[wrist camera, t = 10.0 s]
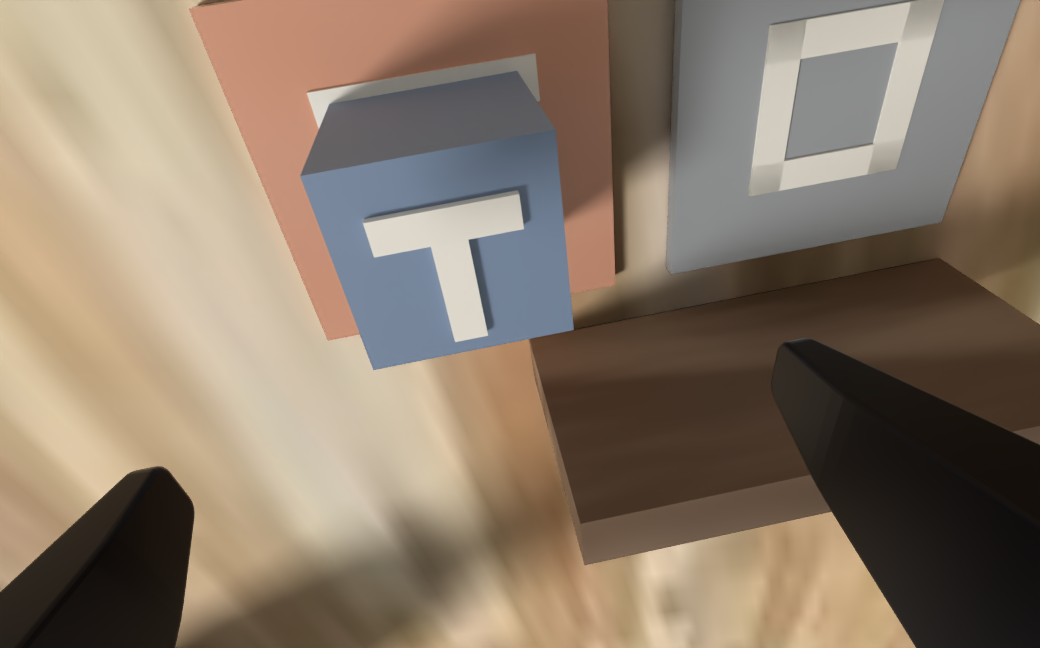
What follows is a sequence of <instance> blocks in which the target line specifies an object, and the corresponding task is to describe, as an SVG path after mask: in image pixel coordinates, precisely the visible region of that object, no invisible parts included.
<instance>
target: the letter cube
mask: <svg viewBox="0 0 1040 648" xmlns="http://www.w3.org/2000/svg"><path fill="white" fill-rule="evenodd" d="M300 177H301V180H302V183H303V185H304V188H305V191H306V193H307V196H308V198H309V201H310V204H311V206H312V209H313V212H314V214H315V217H316V220H317V222H318V225H319V227H320V230H321V233H322V235H323V238H324V241H325V243H326V246H327V249H328V251H329V254H330V256H331V259H332V262H333V264H334V267H335V270H336V272H337V275H338V278H339V280H340V283H341V285H342V288H343V291H344V293H345V296H346V299H347V301H348V304H349V307H350V309H351V312H352V314H353V317H354V320H355V322H356V325H357V328H358V330H359V333H360V336H361V338H362V341H363V343H364V346H365V349H366V351H367V354H368V357H369V359H370V362H371V365H372V367H373V370H376V369H381V368H386V367H391V366H396V365H401V364H406V363H411V362H416V361H421V360H426V359H431V358H436V357H441V356H446V355H451V354H456V353H461V352H466V351H471V350H476V349H481V348H486V347H491V346H496V345H501V344H506V343H511V342H516V341H521V340H526V339H531V338H536V337H541V336H546V335H551V334H556V333H561V332H566V331H571V330H574V327H573V316H572V305H571V294H570V283H569V272H568V261H567V250H566V239H565V228H564V217H563V206H562V195H561V184H560V173H559V162H558V151H557V140H556V129H555V128H554V126H553V125H552V123H551V122H550V120H549V119H548V117H547V116H546V114H545V112H544V111H543V109H542V108H541V106H540V105H539V103H538V102H537V100H536V99H535V97H534V96H533V94H532V93H531V91H530V90H529V88H528V87H527V85H526V84H525V82H524V81H523V79H522V77H521V76H520V74H519V73H518V71H513V72H507V73H501V74H496V75H490V76H485V77H479V78H473V79H468V80H462V81H456V82H451V83H445V84H439V85H434V86H428V87H422V88H417V89H411V90H405V91H400V92H394V93H389V94H383V95H377V96H372V97H366V98H360V99H355V100H349V101H343V102H338V103H332V104H329V106H328V108H327V111H326V113H325V116H324V118H323V121H322V123H321V125H320V128H319V130H318V133H317V135H316V138H315V140H314V143H313V145H312V148H311V150H310V153H309V155H308V158H307V160H306V162H305V165H304V167H303V170H302V172H301V175H300Z"/></svg>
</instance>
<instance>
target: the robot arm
mask: <svg viewBox="0 0 1040 648" xmlns="http://www.w3.org/2000/svg"><path fill="white" fill-rule="evenodd" d="M771 389H772V394H773V397H774V399H775V402H776V404H777V406H778V408H779V410H780V412H781V414H782V416H783V418H784V420H785V423H786V425H787V427H788V429H789V431H790V433H791V435H792V437H793V439H794V441H795V443H796V446H797V448H798V450H799V452H800V454H801V456H802V458H803V460H804V462H805V464H806V467H807V469H808V471H809V473H810V475H811V477H812V479H813V480H814V482H815V484H816V486H817V488H818V490H819V491H820V493H821V495H822V496H823V498H824V500H825V502H826V503H827V505H828V506H829V508H830V510H831V511H832V513H833V514H834V516H835V518H836V519H837V521H838V523H839V524H840V526H841V527H842V529H843V531H844V532H845V534H846V535H847V537H848V539H849V540H850V542H851V543H852V545H853V547H854V548H855V550H856V552H857V553H858V555H859V556H860V558H861V560H862V561H863V563H864V564H865V566H866V568H867V569H868V571H869V573H870V574H871V576H872V577H873V579H874V581H875V582H876V584H877V585H878V587H879V589H880V590H881V592H882V593H883V595H884V597H885V598H886V600H887V602H888V603H889V605H890V606H891V608H892V610H893V611H894V613H895V614H896V616H897V618H898V619H899V621H900V623H901V624H902V626H903V627H904V629H905V631H906V632H907V634H908V635H909V637H910V639H911V640H912V642H913V643H914V645H915V647H916V648H1040V444H1038V443H1036V442H1034V441H1031V440H1029V439H1027V438H1025V437H1023V436H1021V435H1018V434H1016V433H1014V432H1012V431H1010V430H1008V429H1006V428H1003V427H1001V426H999V425H997V424H995V423H993V422H990V421H988V420H986V419H984V418H982V417H980V416H978V415H975V414H973V413H971V412H969V411H967V410H965V409H963V408H960V407H958V406H956V405H954V404H952V403H950V402H947V401H945V400H943V399H941V398H939V397H937V396H935V395H932V394H930V393H928V392H926V391H924V390H922V389H920V388H917V387H915V386H913V385H911V384H909V383H907V382H904V381H902V380H900V379H898V378H896V377H894V376H892V375H889V374H887V373H885V372H883V371H881V370H879V369H877V368H874V367H872V366H870V365H868V364H866V363H864V362H861V361H859V360H857V359H855V358H853V357H851V356H849V355H846V354H844V353H842V352H840V351H838V350H836V349H834V348H831V347H829V346H827V345H825V344H823V343H821V342H818V341H816V340H814V339H811V338H801V339H796V340H791V341H786V342H783V343H781V344H780V346H779V347H778V350H777V354H776V359H775V364H774V370H773V375H772V380H771ZM193 524H194V506H193V503H192V501H191V499H190V497H189V496H188V495H187V493H186V492H185V491H184V490H183V488H182V487H181V486H180V484H179V483H178V482H177V481H176V479H175V478H174V477H173V475H172V474H171V473H170V472H169V471H168V470H167V469H166V468H164V467H162V466H156V467H151V468H146V469H141V470H136V471H133V472H130V473H129V474H127V475H126V476H125V477H124V478H123V479H122V480H120V481H119V482H118V483H117V484H116V485H115V486H114V487H113V488H112V489H111V490H110V491H109V492H108V493H106V494H105V495H104V496H103V497H102V498H101V499H100V500H99V501H98V502H97V503H96V504H95V505H94V506H92V507H91V508H90V509H89V510H88V511H87V512H86V513H85V514H84V515H83V516H82V517H81V518H80V519H78V520H77V521H76V522H75V523H74V524H73V525H72V526H71V527H70V528H69V529H68V530H67V531H66V532H65V533H63V534H62V535H61V536H60V537H59V538H58V539H57V540H56V541H55V542H54V543H53V544H52V545H51V546H49V547H48V548H47V549H46V550H45V551H44V552H43V553H42V554H41V555H40V556H39V557H38V558H37V559H35V560H34V561H33V562H32V563H31V564H30V565H29V566H28V567H27V568H26V569H25V570H24V571H23V572H21V573H20V574H19V575H18V576H17V577H16V578H15V579H14V580H13V581H12V582H11V583H10V584H9V585H7V586H6V587H5V588H4V589H3V590H2V591H1V592H0V648H175V645H176V641H177V636H178V632H179V627H180V622H181V617H182V610H183V604H184V596H185V588H186V580H187V572H188V564H189V556H190V548H191V540H192V532H193Z"/></svg>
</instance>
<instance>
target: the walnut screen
mask: <svg viewBox="0 0 1040 648" xmlns="http://www.w3.org/2000/svg"><path fill="white" fill-rule="evenodd" d="M801 338H811V339H814V340H816V341H818V342H821V343H823V344H825V345H827V346H829V347H831V348H834V349H836V350H838V351H840V352H842V353H844V354H846V355H849V356H851V357H853V358H855V359H857V360H859V361H861V362H864V363H866V364H868V365H870V366H872V367H874V368H877V369H879V370H881V371H883V372H885V373H887V374H889V375H892V376H894V377H896V378H898V379H900V380H902V381H904V382H907V383H909V384H911V385H913V386H915V387H917V388H920V389H922V390H924V391H926V392H928V393H930V394H932V395H935V396H937V397H939V398H941V399H943V400H945V401H947V402H950V403H952V404H954V405H956V406H958V407H960V408H963V409H965V410H967V411H969V412H971V413H973V414H975V415H978V416H980V417H982V418H984V419H986V420H988V421H990V422H993V423H995V424H997V425H999V426H1001V427H1003V428H1006V429H1008V430H1010V431H1012V432H1014V433H1016V434H1018V435H1021V436H1023V437H1025V438H1027V439H1029V440H1031V441H1034V442H1036V443H1038V444H1040V325H1039V324H1038V323H1036V322H1035V321H1033V320H1032V319H1030V318H1029V317H1027V316H1026V315H1024V314H1023V313H1021V312H1020V311H1018V310H1017V309H1015V308H1014V307H1012V306H1011V305H1009V304H1008V303H1006V302H1005V301H1003V300H1002V299H1000V298H999V297H997V296H996V295H994V294H993V293H991V292H990V291H988V290H987V289H985V288H984V287H982V286H981V285H979V284H978V283H976V282H975V281H973V280H972V279H970V278H969V277H967V276H966V275H964V274H962V273H961V272H959V271H958V270H956V269H955V268H953V267H952V266H950V265H949V264H947V263H946V262H944V261H943V260H941V259H940V258H939V259H934V260H929V261H924V262H919V263H914V264H909V265H904V266H898V267H893V268H888V269H883V270H878V271H873V272H868V273H863V274H858V275H853V276H847V277H842V278H837V279H832V280H827V281H822V282H817V283H812V284H807V285H801V286H796V287H791V288H786V289H781V290H776V291H771V292H766V293H761V294H755V295H750V296H745V297H740V298H735V299H730V300H725V301H720V302H715V303H710V304H704V305H699V306H694V307H689V308H684V309H679V310H674V311H669V312H664V313H658V314H653V315H648V316H643V317H638V318H633V319H628V320H623V321H618V322H613V323H607V324H602V325H597V326H592V327H587V328H582V329H577V330H572V331H567V332H561V333H556V334H551V335H546V336H541V337H536V338H531V339H529V342H530V349H531V355H532V362H533V369H534V376H535V381H536V385H537V388H538V392H539V396H540V400H541V403H542V407H543V411H544V415H545V418H546V422H547V426H548V430H549V433H550V437H551V441H552V445H553V448H554V452H555V456H556V460H557V463H558V467H559V471H560V475H561V478H562V482H563V486H564V490H565V493H566V497H567V501H568V505H569V509H570V512H571V516H572V520H573V524H574V527H575V531H576V535H577V539H578V542H579V546H580V550H581V554H582V557H583V561H584V565H588V564H593V563H597V562H602V561H606V560H611V559H616V558H620V557H625V556H629V555H634V554H639V553H643V552H648V551H652V550H657V549H662V548H666V547H671V546H675V545H680V544H685V543H689V542H694V541H698V540H703V539H708V538H712V537H717V536H721V535H726V534H731V533H735V532H740V531H744V530H749V529H754V528H758V527H763V526H767V525H772V524H777V523H781V522H786V521H790V520H795V519H800V518H804V517H809V516H813V515H818V514H823V513H827V512H832V511H831V510H830V508H829V506H828V505H827V503H826V502H825V500H824V498H823V496H822V495H821V493H820V491H819V490H818V488H817V486H816V484H815V482H814V480H813V479H812V477H811V475H810V473H809V471H808V469H807V467H806V464H805V462H804V460H803V458H802V456H801V454H800V452H799V450H798V448H797V446H796V443H795V441H794V439H793V437H792V435H791V433H790V431H789V429H788V427H787V425H786V423H785V420H784V418H783V416H782V414H781V412H780V410H779V408H778V406H777V404H776V402H775V399H774V397H773V394H772V389H771V380H772V375H773V370H774V364H775V359H776V354H777V350H778V347H779V346H780V344H781V343H783V342H786V341H791V340H796V339H801Z"/></svg>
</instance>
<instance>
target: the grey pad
mask: <svg viewBox="0 0 1040 648" xmlns="http://www.w3.org/2000/svg"><path fill="white" fill-rule="evenodd" d="M1019 3H1020V0H675V28H674V56H673V84H672V112H671V139H670V167H669V195H668V223H667V251H666V268H667V269H668V271H669V272H670V274H676V273H681V272H686V271H692V270H697V269H702V268H707V267H712V266H718V265H723V264H728V263H733V262H738V261H743V260H749V259H754V258H759V257H764V256H769V255H775V254H780V253H785V252H790V251H795V250H801V249H806V248H811V247H816V246H821V245H827V244H832V243H837V242H842V241H847V240H853V239H858V238H863V237H868V236H873V235H879V234H884V233H889V232H894V231H899V230H905V229H910V228H915V227H920V226H925V225H930V224H936V223H941V222H942V220H943V217H944V214H945V211H946V208H947V205H948V203H949V200H950V197H951V194H952V191H953V189H954V186H955V183H956V180H957V177H958V175H959V172H960V169H961V166H962V163H963V161H964V158H965V155H966V152H967V149H968V146H969V144H970V141H971V138H972V135H973V132H974V130H975V127H976V124H977V121H978V118H979V116H980V113H981V110H982V107H983V104H984V102H985V99H986V96H987V93H988V90H989V88H990V85H991V82H992V79H993V76H994V73H995V71H996V68H997V65H998V62H999V59H1000V57H1001V54H1002V51H1003V48H1004V45H1005V43H1006V40H1007V37H1008V34H1009V31H1010V29H1011V26H1012V23H1013V20H1014V17H1015V15H1016V12H1017V9H1018V6H1019Z"/></svg>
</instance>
